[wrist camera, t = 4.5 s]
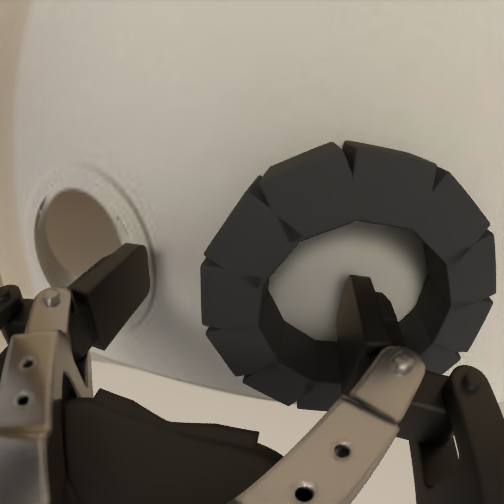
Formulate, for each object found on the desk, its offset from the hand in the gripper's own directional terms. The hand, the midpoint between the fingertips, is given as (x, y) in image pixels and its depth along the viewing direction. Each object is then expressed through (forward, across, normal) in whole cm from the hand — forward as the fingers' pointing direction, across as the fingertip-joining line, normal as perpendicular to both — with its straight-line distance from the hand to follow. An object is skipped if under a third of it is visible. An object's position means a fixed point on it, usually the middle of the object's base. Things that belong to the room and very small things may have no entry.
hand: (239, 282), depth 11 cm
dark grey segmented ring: (+1, -4, 0) cm, 4 cm away
